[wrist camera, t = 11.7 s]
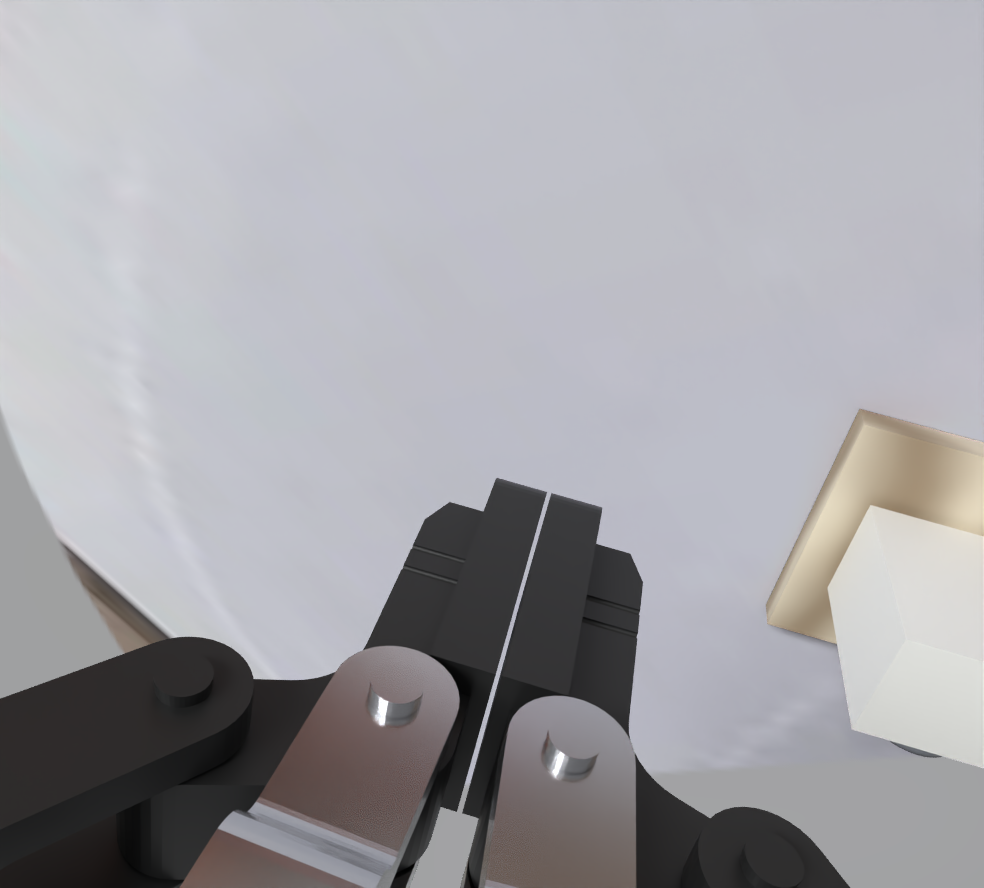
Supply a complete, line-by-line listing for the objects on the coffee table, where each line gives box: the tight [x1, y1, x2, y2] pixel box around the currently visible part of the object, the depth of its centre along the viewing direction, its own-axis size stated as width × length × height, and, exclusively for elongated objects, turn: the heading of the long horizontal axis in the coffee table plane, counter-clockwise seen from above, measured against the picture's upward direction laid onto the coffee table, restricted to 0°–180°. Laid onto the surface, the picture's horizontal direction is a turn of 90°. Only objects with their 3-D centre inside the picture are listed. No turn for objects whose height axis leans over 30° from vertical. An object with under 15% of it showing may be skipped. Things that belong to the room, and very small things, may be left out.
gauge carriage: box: [828, 505, 984, 769], centre depth 40 cm, size 8×8×9 cm
